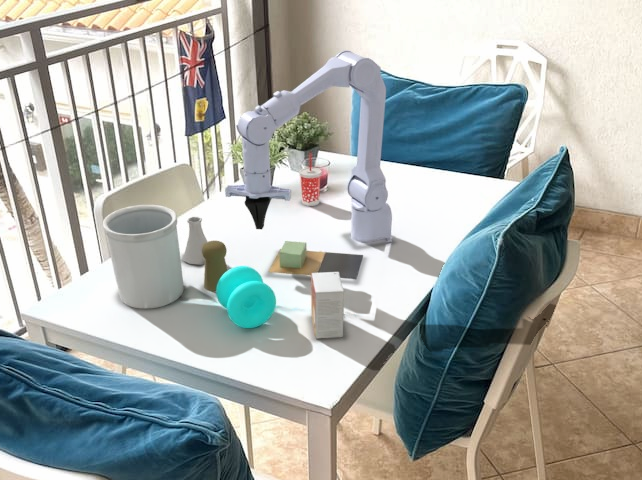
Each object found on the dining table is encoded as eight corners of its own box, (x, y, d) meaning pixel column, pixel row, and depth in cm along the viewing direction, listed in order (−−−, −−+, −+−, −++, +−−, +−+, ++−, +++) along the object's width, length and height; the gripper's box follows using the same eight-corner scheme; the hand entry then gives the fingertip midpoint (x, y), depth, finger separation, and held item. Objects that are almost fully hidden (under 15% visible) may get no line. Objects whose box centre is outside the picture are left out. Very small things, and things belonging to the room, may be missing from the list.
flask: (219, 255, 167) (216, 216, 161) (203, 267, 161) (199, 228, 156) (194, 249, 169) (189, 211, 164) (177, 262, 164) (172, 222, 158)
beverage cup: (308, 196, 197) (307, 147, 189) (326, 201, 194) (326, 152, 186) (295, 203, 192) (294, 154, 185) (313, 208, 189) (312, 158, 182)
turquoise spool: (231, 335, 137) (227, 291, 131) (216, 311, 144) (212, 268, 139) (279, 324, 140) (277, 280, 135) (261, 301, 148) (259, 259, 142)
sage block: (279, 266, 159) (279, 252, 157) (285, 254, 164) (285, 240, 162) (301, 268, 158) (300, 254, 156) (306, 256, 163) (306, 242, 161)
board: (268, 275, 157) (268, 271, 157) (280, 252, 167) (280, 248, 167) (356, 283, 154) (356, 279, 154) (363, 258, 164) (363, 254, 163)
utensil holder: (156, 317, 143) (144, 239, 133) (101, 300, 149) (86, 224, 139) (199, 286, 154) (191, 212, 144) (147, 271, 160) (136, 199, 150)
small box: (311, 318, 142) (310, 272, 136) (338, 316, 142) (339, 270, 137) (314, 339, 135) (314, 292, 130) (343, 337, 136) (344, 290, 130)
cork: (226, 297, 150) (222, 250, 144) (200, 294, 151) (195, 248, 145) (235, 283, 155) (231, 238, 149) (209, 281, 156) (204, 236, 150)
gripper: (219, 173, 149) (224, 232, 156) (285, 177, 146) (287, 237, 154) (228, 162, 154) (233, 219, 162) (292, 166, 152) (294, 224, 159)
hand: (260, 227), depth 158 cm, fingers closed
